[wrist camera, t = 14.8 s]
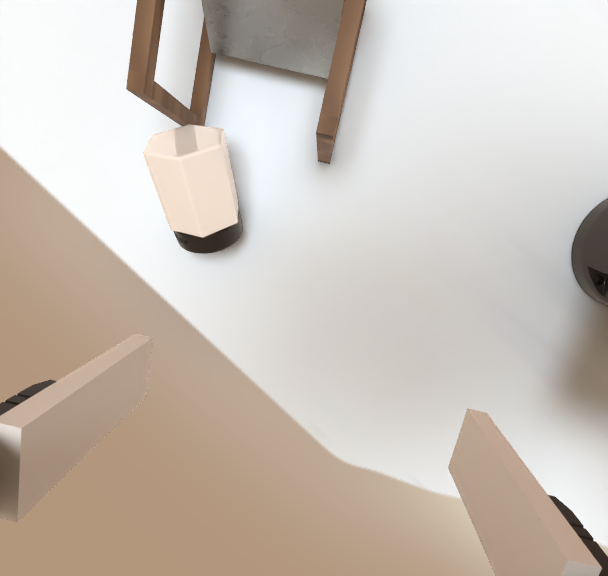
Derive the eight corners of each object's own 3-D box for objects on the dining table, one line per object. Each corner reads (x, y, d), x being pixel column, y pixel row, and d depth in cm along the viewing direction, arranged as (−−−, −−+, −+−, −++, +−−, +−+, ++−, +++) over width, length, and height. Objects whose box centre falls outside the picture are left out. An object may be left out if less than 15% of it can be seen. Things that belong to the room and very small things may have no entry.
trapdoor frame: (365, 7, 44) (389, -111, 28) (329, 163, 47) (333, 136, 32) (215, -27, 44) (157, -163, 28) (191, 132, 47) (126, 89, 32)
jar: (135, 162, 35) (172, 260, 44) (221, 153, 36) (242, 252, 44) (152, 126, 42) (182, 217, 50) (225, 120, 42) (243, 211, 50)
